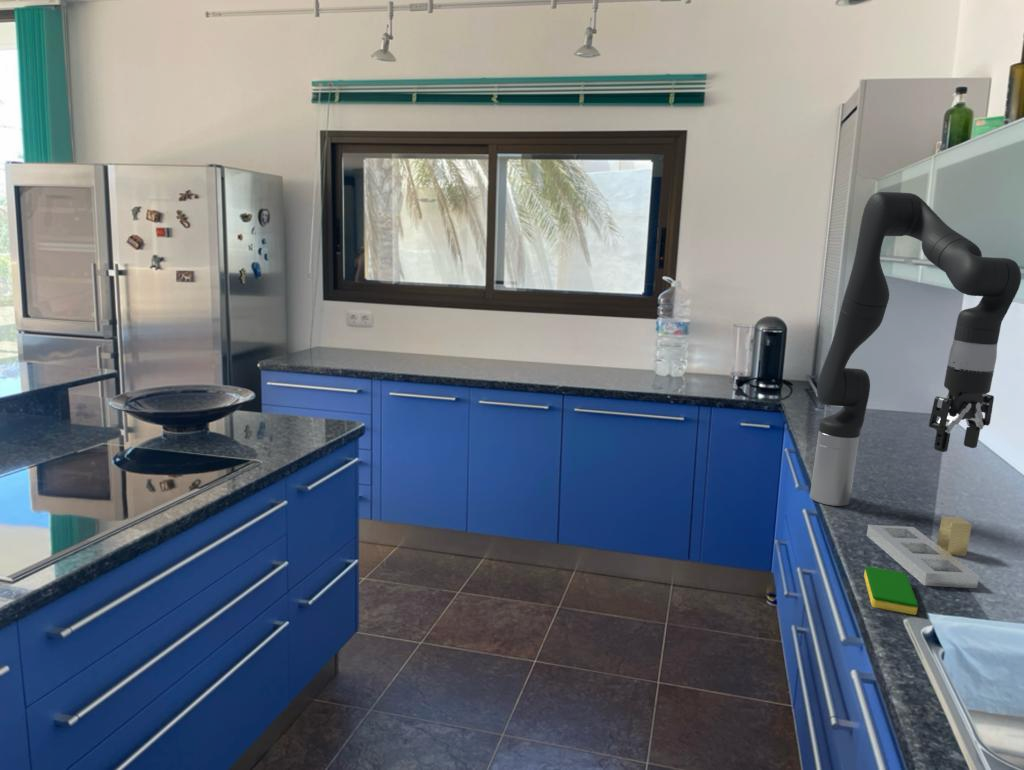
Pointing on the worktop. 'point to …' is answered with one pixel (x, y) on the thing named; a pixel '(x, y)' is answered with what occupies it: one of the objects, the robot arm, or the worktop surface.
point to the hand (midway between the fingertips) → (955, 448)
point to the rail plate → (922, 557)
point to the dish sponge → (890, 590)
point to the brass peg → (954, 535)
